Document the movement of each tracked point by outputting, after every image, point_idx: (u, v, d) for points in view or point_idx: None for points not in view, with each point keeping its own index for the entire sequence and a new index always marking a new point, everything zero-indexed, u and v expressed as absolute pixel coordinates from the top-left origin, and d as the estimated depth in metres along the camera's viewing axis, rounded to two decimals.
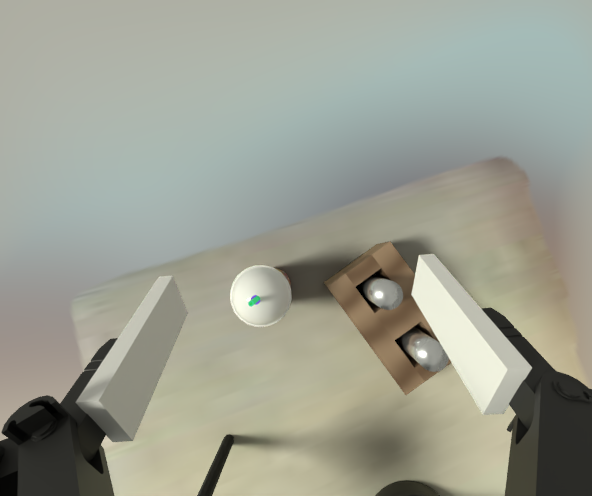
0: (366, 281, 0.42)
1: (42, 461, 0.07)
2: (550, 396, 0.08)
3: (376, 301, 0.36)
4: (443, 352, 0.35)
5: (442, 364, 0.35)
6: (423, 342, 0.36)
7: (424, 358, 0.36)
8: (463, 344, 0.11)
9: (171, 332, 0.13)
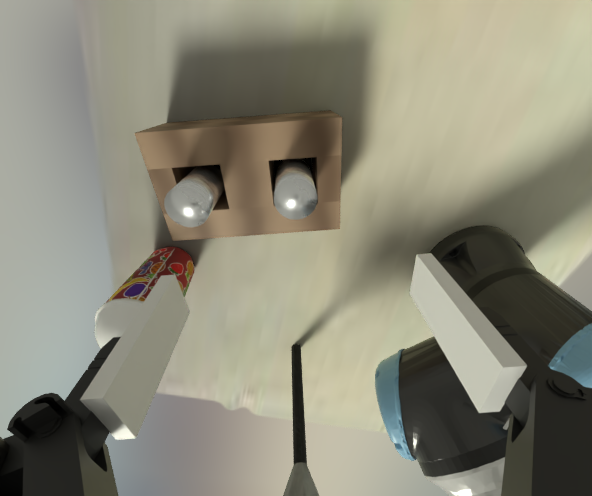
0: None
1: (47, 458, 0.07)
2: (545, 394, 0.08)
3: (189, 225, 0.25)
4: (298, 185, 0.24)
5: (312, 195, 0.24)
6: None
7: (291, 211, 0.25)
8: (460, 343, 0.11)
9: (174, 331, 0.13)
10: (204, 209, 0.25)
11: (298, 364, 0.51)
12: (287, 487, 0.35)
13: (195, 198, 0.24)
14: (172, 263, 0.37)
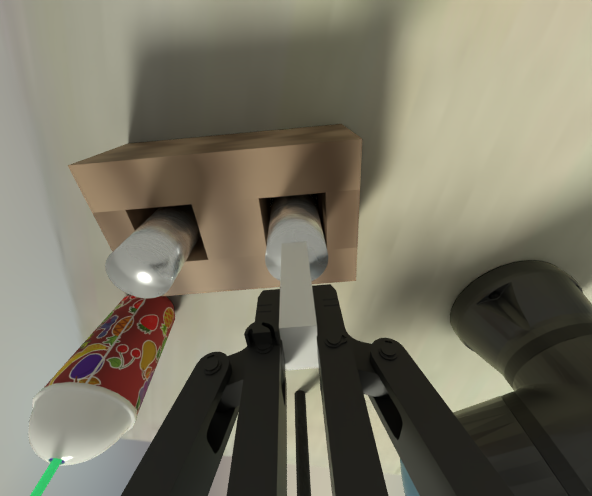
0: None
1: (259, 371, 0.09)
2: (325, 353, 0.09)
3: (146, 296, 0.18)
4: (300, 241, 0.16)
5: (320, 253, 0.17)
6: (265, 258, 0.17)
7: None
8: None
9: None
10: (165, 276, 0.17)
11: (302, 418, 0.43)
12: None
13: (150, 262, 0.16)
14: (143, 316, 0.30)
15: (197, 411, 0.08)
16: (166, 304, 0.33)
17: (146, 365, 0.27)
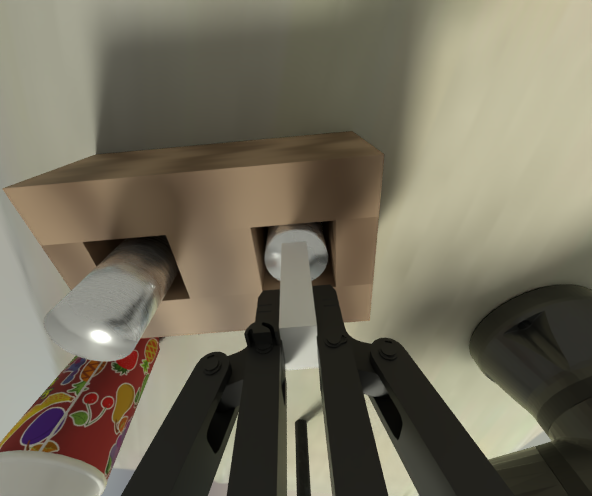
0: None
1: (259, 371, 0.09)
2: (325, 353, 0.09)
3: (103, 359, 0.14)
4: (299, 240, 0.16)
5: (320, 252, 0.17)
6: (265, 258, 0.17)
7: None
8: None
9: None
10: (125, 336, 0.13)
11: (304, 453, 0.39)
12: None
13: (104, 321, 0.12)
14: None
15: (197, 411, 0.08)
16: None
17: (120, 415, 0.23)
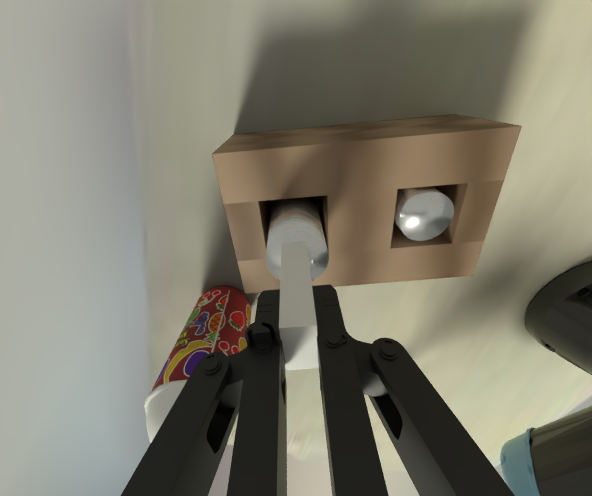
0: None
1: (259, 371, 0.09)
2: (325, 353, 0.09)
3: None
4: (434, 200, 0.20)
5: (447, 212, 0.20)
6: (398, 217, 0.21)
7: (418, 231, 0.21)
8: None
9: None
10: (321, 261, 0.17)
11: None
12: None
13: (312, 247, 0.16)
14: (232, 313, 0.29)
15: (197, 411, 0.08)
16: (245, 301, 0.33)
17: None
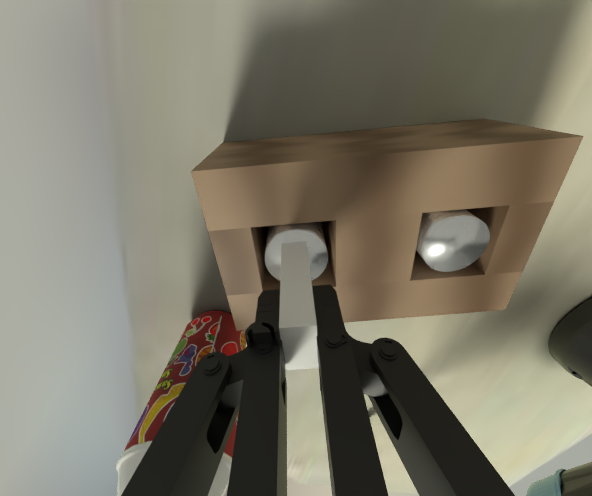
0: None
1: (259, 371, 0.09)
2: (325, 353, 0.09)
3: None
4: (466, 226, 0.16)
5: (481, 239, 0.17)
6: (421, 244, 0.17)
7: (444, 261, 0.17)
8: None
9: None
10: (320, 261, 0.17)
11: None
12: None
13: (311, 247, 0.16)
14: (223, 345, 0.26)
15: (197, 411, 0.08)
16: None
17: None
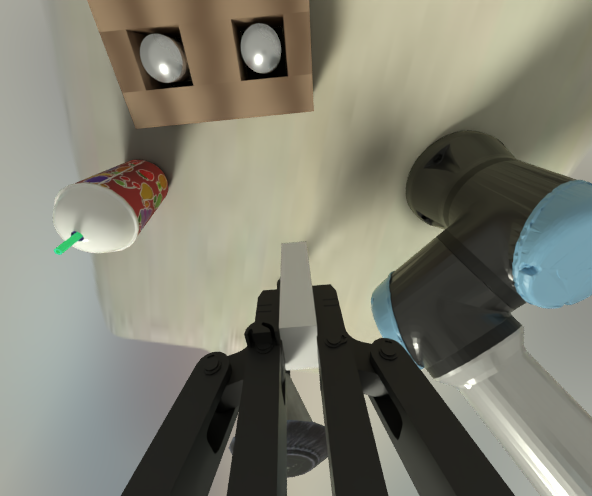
0: None
1: (259, 371, 0.09)
2: (324, 353, 0.09)
3: (165, 80, 0.28)
4: (262, 31, 0.26)
5: (275, 43, 0.27)
6: (241, 50, 0.27)
7: (258, 63, 0.27)
8: None
9: None
10: (177, 61, 0.27)
11: None
12: None
13: (168, 47, 0.26)
14: (141, 169, 0.35)
15: (197, 411, 0.08)
16: (160, 171, 0.39)
17: (145, 197, 0.33)
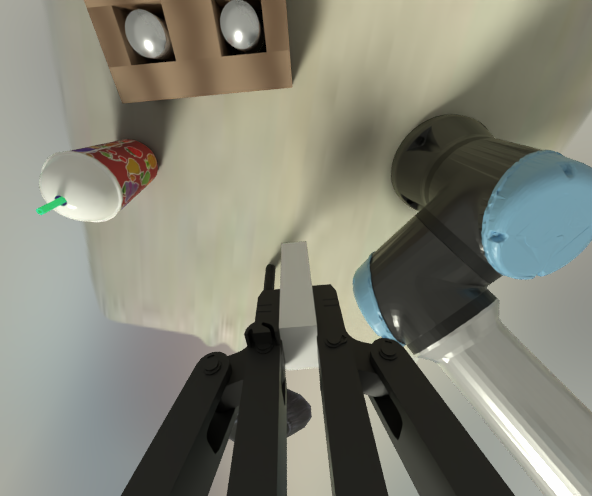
0: None
1: (259, 371, 0.09)
2: (325, 353, 0.09)
3: (149, 55, 0.29)
4: (240, 7, 0.27)
5: (253, 19, 0.28)
6: (221, 26, 0.28)
7: (237, 39, 0.29)
8: None
9: None
10: (160, 36, 0.28)
11: (270, 278, 0.50)
12: None
13: (151, 23, 0.28)
14: (130, 146, 0.37)
15: (197, 411, 0.08)
16: (150, 151, 0.40)
17: (131, 171, 0.34)
